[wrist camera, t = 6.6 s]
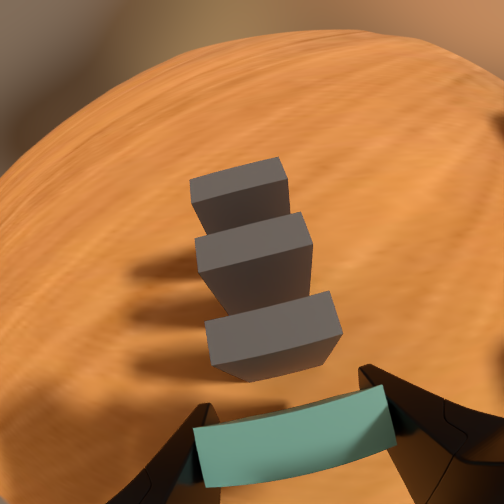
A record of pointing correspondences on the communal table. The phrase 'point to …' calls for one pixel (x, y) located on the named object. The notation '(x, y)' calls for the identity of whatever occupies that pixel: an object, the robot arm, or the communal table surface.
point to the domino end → (241, 195)
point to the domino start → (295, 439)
